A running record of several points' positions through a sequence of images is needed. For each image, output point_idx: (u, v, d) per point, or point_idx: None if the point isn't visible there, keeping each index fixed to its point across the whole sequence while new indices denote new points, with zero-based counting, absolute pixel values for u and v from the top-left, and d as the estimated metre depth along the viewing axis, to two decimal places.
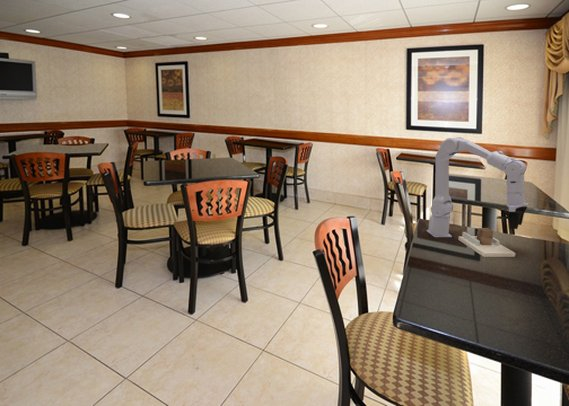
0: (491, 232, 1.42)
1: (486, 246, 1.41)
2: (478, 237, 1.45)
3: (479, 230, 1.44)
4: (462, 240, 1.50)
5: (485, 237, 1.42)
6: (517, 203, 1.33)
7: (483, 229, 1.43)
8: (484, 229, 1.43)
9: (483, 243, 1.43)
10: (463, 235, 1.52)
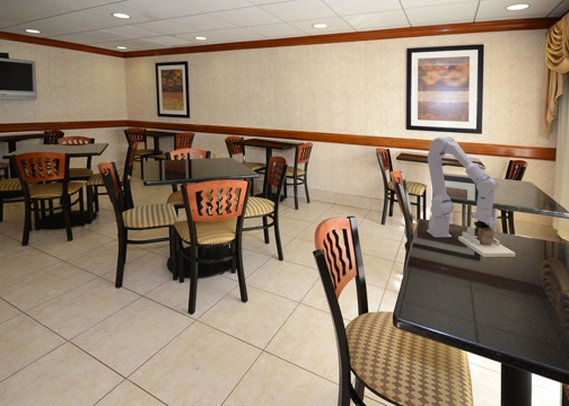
0: (492, 232, 1.41)
1: (486, 246, 1.41)
2: (478, 237, 1.45)
3: (480, 230, 1.44)
4: (462, 240, 1.50)
5: (485, 238, 1.42)
6: (489, 218, 1.42)
7: (484, 229, 1.43)
8: (485, 229, 1.43)
9: (483, 243, 1.43)
10: (463, 235, 1.52)
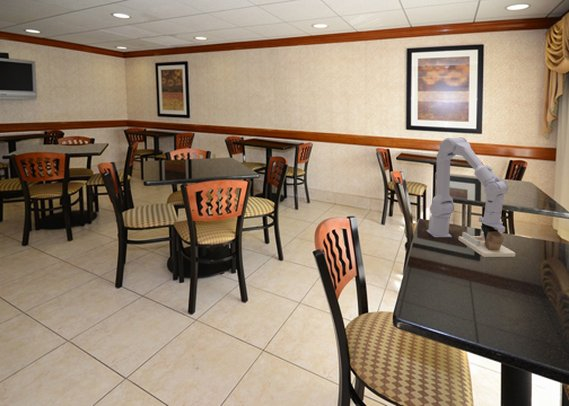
0: (501, 238, 1.35)
1: None
2: (487, 241, 1.39)
3: (489, 234, 1.37)
4: (462, 240, 1.50)
5: (494, 243, 1.36)
6: (498, 222, 1.37)
7: (493, 234, 1.36)
8: (494, 234, 1.36)
9: (491, 248, 1.37)
10: (463, 235, 1.52)
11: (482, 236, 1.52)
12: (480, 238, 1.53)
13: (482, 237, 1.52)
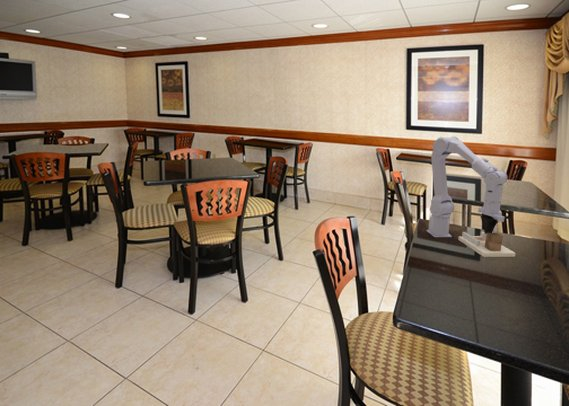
0: (500, 237, 1.35)
1: None
2: (486, 242, 1.39)
3: (488, 235, 1.38)
4: (462, 240, 1.50)
5: (494, 243, 1.36)
6: (497, 212, 1.37)
7: (492, 234, 1.37)
8: (493, 234, 1.37)
9: (492, 249, 1.36)
10: (463, 235, 1.52)
11: (482, 236, 1.52)
12: (480, 238, 1.53)
13: (482, 237, 1.52)
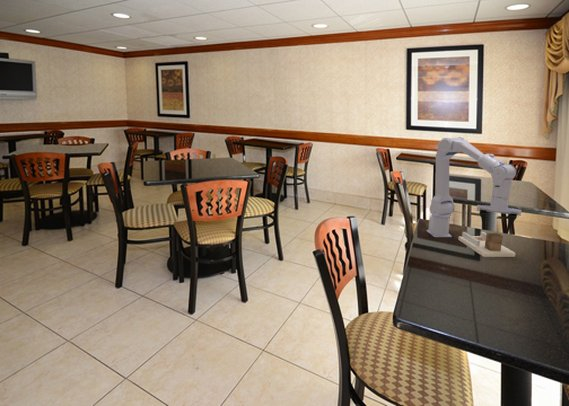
0: (500, 237, 1.35)
1: None
2: (486, 242, 1.39)
3: (488, 235, 1.38)
4: (462, 240, 1.50)
5: (494, 243, 1.36)
6: None
7: (492, 234, 1.37)
8: (493, 234, 1.37)
9: (492, 249, 1.36)
10: (463, 235, 1.52)
11: (482, 236, 1.52)
12: (480, 238, 1.53)
13: (482, 237, 1.52)
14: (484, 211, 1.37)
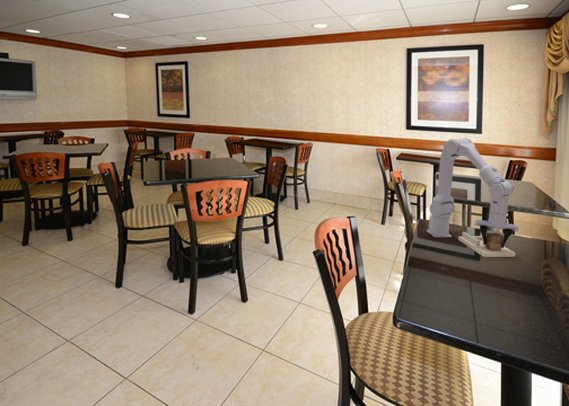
0: (501, 237, 1.35)
1: None
2: (487, 242, 1.39)
3: (488, 235, 1.38)
4: (462, 240, 1.50)
5: (494, 243, 1.36)
6: None
7: (492, 234, 1.37)
8: (493, 234, 1.37)
9: (492, 249, 1.36)
10: (463, 235, 1.52)
11: None
12: (480, 238, 1.53)
13: (482, 237, 1.52)
14: (482, 226, 1.38)
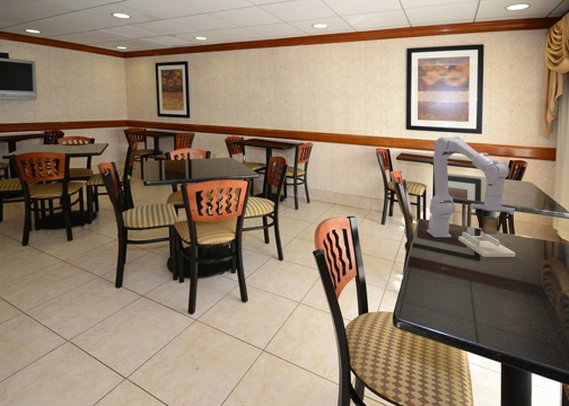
0: (496, 221, 1.34)
1: (486, 246, 1.41)
2: (482, 226, 1.38)
3: (483, 219, 1.37)
4: (462, 240, 1.50)
5: (489, 226, 1.35)
6: None
7: (488, 217, 1.36)
8: (489, 217, 1.36)
9: (487, 232, 1.36)
10: (463, 235, 1.52)
11: (482, 236, 1.52)
12: (480, 238, 1.53)
13: (482, 237, 1.52)
14: (478, 209, 1.38)
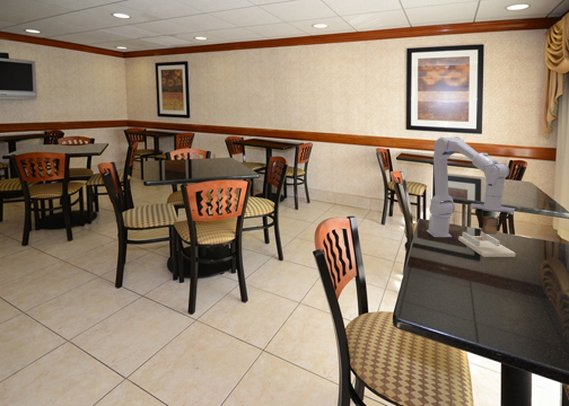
0: (496, 221, 1.34)
1: (486, 246, 1.41)
2: (482, 226, 1.38)
3: (483, 219, 1.37)
4: (462, 240, 1.50)
5: (489, 226, 1.35)
6: None
7: (488, 217, 1.36)
8: (489, 217, 1.36)
9: (487, 232, 1.36)
10: (463, 235, 1.52)
11: (482, 236, 1.52)
12: (480, 238, 1.53)
13: (482, 237, 1.52)
14: (478, 209, 1.38)
